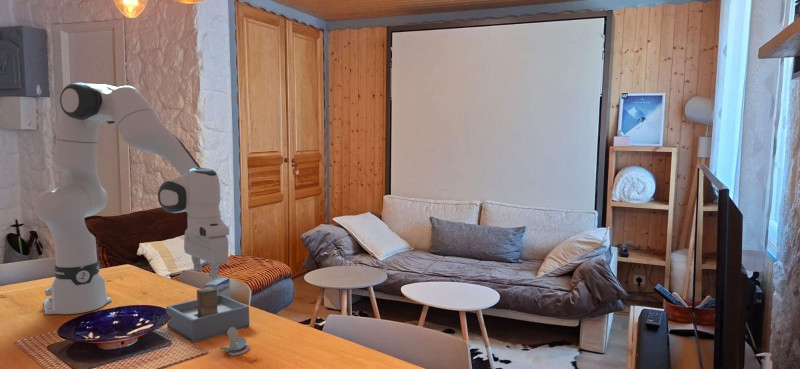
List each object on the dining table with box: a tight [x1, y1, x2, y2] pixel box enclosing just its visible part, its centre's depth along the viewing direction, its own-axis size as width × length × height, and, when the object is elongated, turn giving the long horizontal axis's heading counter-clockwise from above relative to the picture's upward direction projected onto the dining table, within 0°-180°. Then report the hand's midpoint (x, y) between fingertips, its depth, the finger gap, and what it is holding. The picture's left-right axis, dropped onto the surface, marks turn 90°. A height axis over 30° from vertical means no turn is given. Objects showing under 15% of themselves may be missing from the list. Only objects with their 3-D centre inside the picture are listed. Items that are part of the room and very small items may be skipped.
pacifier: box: [220, 327, 251, 357], centre depth 140 cm, size 7×6×6 cm
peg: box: [196, 287, 218, 318], centre depth 157 cm, size 4×4×10 cm
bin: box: [166, 294, 250, 343], centre depth 157 cm, size 17×17×6 cm
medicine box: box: [203, 277, 231, 298], centre depth 174 cm, size 8×4×9 cm, turn 168°
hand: (205, 274), depth 156 cm, fingers open, 8 cm apart
